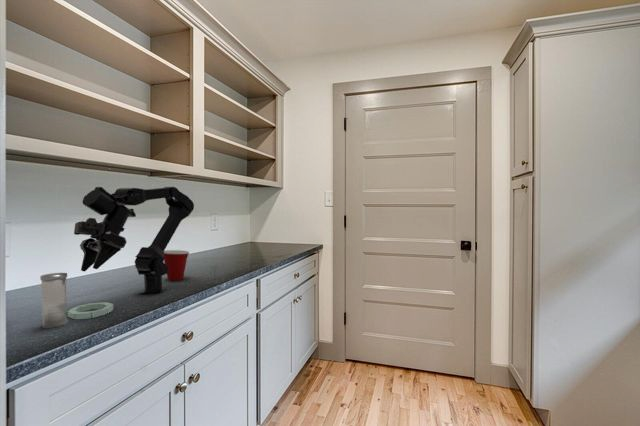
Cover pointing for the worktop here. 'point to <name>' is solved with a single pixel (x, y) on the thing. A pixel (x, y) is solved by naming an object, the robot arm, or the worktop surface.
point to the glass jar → (54, 299)
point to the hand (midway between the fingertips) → (88, 269)
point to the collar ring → (79, 314)
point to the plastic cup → (175, 263)
